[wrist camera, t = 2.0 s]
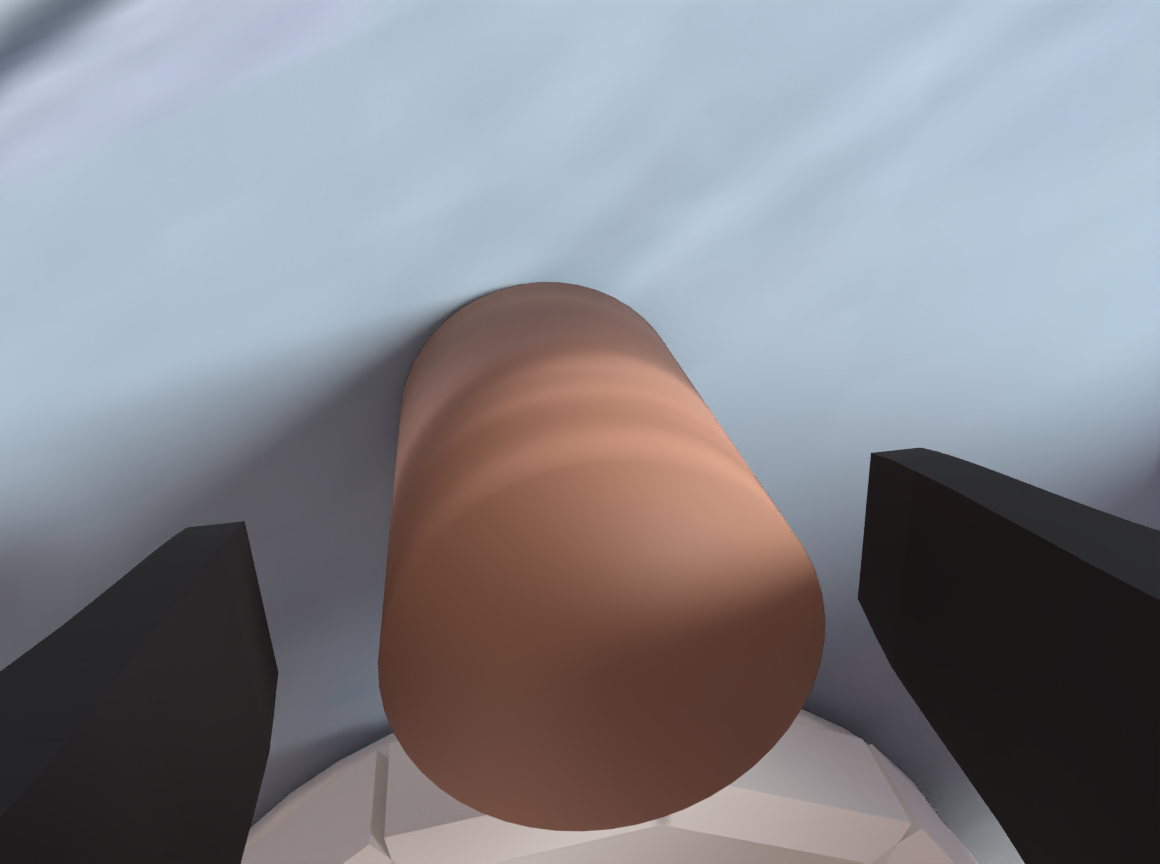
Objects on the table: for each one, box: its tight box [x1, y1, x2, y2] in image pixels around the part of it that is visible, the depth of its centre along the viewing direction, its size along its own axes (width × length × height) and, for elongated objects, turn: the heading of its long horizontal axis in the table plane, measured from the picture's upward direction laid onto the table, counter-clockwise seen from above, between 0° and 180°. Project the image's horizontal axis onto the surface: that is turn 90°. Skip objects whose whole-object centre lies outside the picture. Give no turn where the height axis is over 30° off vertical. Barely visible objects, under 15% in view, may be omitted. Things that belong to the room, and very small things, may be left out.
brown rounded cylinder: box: [378, 282, 825, 831], centre depth 12 cm, size 4×4×6 cm
